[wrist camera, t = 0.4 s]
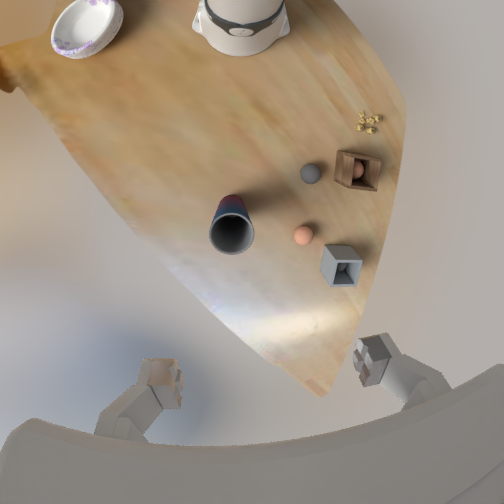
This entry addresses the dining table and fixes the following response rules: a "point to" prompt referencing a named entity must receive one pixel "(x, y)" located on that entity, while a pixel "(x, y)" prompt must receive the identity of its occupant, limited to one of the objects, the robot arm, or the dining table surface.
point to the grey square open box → (340, 255)
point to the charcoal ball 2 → (341, 266)
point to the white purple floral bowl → (86, 27)
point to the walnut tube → (346, 171)
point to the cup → (231, 227)
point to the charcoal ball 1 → (310, 173)
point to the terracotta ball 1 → (303, 235)
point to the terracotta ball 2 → (357, 169)
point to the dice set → (370, 120)
